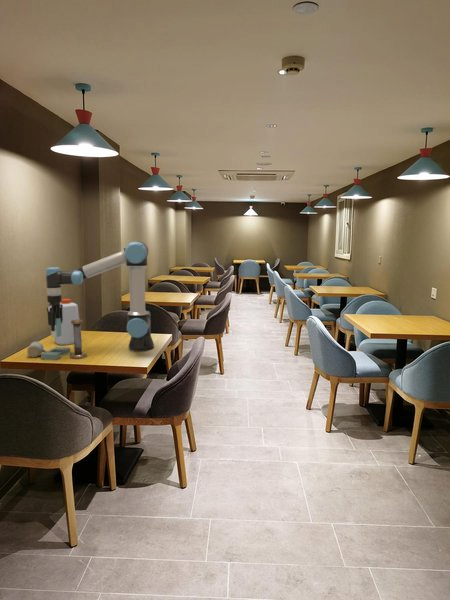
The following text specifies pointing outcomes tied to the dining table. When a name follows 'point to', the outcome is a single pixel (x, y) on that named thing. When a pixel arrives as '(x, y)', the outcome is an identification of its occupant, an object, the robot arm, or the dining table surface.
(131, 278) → the robot arm
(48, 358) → the teal z-shaped block
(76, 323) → the bobbin
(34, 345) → the ceramic mug
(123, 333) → the dining table surface
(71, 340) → the plastic bottle
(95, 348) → the dining table surface
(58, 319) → the peg
